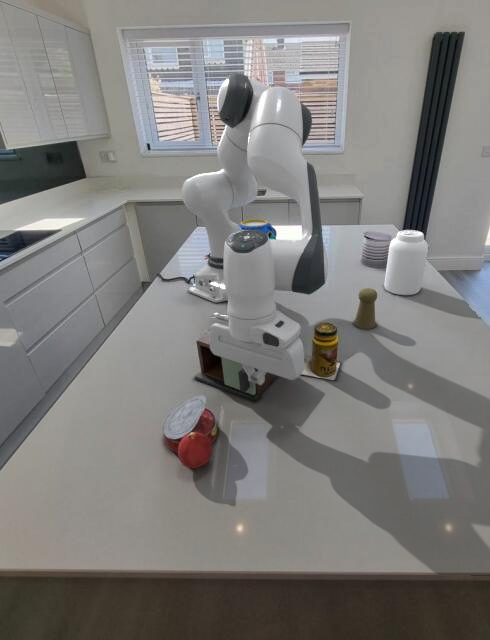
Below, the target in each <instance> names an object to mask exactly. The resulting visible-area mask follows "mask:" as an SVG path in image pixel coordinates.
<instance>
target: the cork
mask: <svg viewBox="0 0 490 640" xmlns="http://www.w3.org/2000/svg"><path fill="white" fill-rule="evenodd" d="M377 299H378V292H377V291H376V289H374V288H371V287H364V288H361V289H360V290H359V292H358V300H359V302H358V303H359V304H358V307H357V311H356V315H355V320H354V326H355V327H356V328H358V329H361V330H370V329H374V328H375V327H376V306H375V303H376V301H377Z"/></svg>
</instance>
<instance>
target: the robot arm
mask: <svg viewBox="0 0 490 640" xmlns="http://www.w3.org/2000/svg"><path fill="white" fill-rule="evenodd" d="M217 94H218V95H217V114H218V117H219V119H220V121H221V122H222V123H223V124H225V128H224V130H223V133H222V135H221V138H220V140H219V143H218V146H217V149H216V156H217V160H218V162H219V165H220V166H221V167H222V169H221V170H220V171H219V170H218V171H216V172H208V173H201V174H200V173H199V174H198V175H194V176H192V177H190V178H188V179H185V180H184V182H183V183H182V186H181V199H182V202H183V204H184V206H185V208H187V210H188V211H189V212H190V213H192V214H194V215H195V216H196V217H197V218H198V219H199V220H200V221H201V222H202V224H203V226H204V228H205V230H206V234H207V238H208V244H209V250H210V252H209V253H208V254H206V255H204V260H207V259H208V260H207V263H206V264H205V265H204V266H203V267H202V268H201V269H199V270H198V271H197V272H196V273H194V274H193V275H192V276H190V277H189V278H187V277H185V276H177V277H173V278H165V277H163V276H162V274H161V273H160V272H158V273H157V274H156V277H159V278H160V279H161V280H163V281H165V282H170V281H171V282H172V281H176V280H182V279H183V280H185V281H186V283H191V281H192V280H193V283H194V284H192V285H191V286H190V287H189V289H188V292H189V293H190V294H193V295H195V296H198V297H200V298H202V299H205V300H208V301H209V302H212V303H216V304H217V303H221V302H227V306H226V311H227V314H224V313H221V312H214V313H212V314H210V316H209V318H208V323H209V331H210V333H209V342H210V350H211V351H212V353H213V354H214V355H217V356H220V357H223V358H226V359H229V360H232V361H235V362H238V363H241V364H242V367H243V369H244V370H245V372H246V373H247V375H248V381H250V382H253V383H256V384H259V385H262V384H263V383H264V381H265V374H266V373H267V372H268V373H271V374H274V375H277V377H281V378H284V379H287V380H290V381H295V380H296V379H297V378H298V377H300V375H302V374H301V373H302V372H303V370H304V364H305V350H304V344H303V341H302V339H301V338H300V337H299V336H300V334H301V332H302V327H301V324H300V323H298V322H297V321H295V320H294V319H292V318H290V317H288V316H287V315H286V314H284V313H282V312H281V311H279V310H278V309H277V304H276V300H275V298H274V293H275V291H280V292H282V291H283V292H292V293H296V294H303V295H312V294H313V293H315V292H317V291H319V289H321V288H322V287H323V286H324V285H325V284H326V281H327V279H328V274H329V260H328V254H327V251H326V248H325V244H324V239H323V223H322V211H321V204H320V203H321V202H320V192H319V187H318V178H317V173H316V170H315V167H314V165H313V164H311V162H309V161H307V160H306V159H305V157H304V155H303V146H304V145H305V144H306V142H307V140H308V138H309V136H310V133H311V130H312V125H313V117H312V111H311V110H310V109H309V108H308V107H307V106H306V105H305V104H304V103H302V102H301V101H300V99H299V96H297V95H296V94H295V92H294V91H292V90H291V89H289V88H287V87H284V86H280V85H279V86H277V85H276V86H270V85H268V84H266V83H263V82H261V81H258V80H255V79H253V78H249V75H246V74H242V73H237V72H233V73H231V74H229V75H227V76H226V78H225V80H224V81H223V82H222V84H221V86H220V88H219V90H218V93H217ZM257 181H258V182H259V183H260V184H261V185H263V186H264V187H266V188H268V189H270V190H272V191H274V192H277V193H280V194H282V195H284V196H287V197H289V198H291V199H292V200H294V201H295V202H296V203H297V204H298V206H299V212H300V213H299V214H300V224H301V225H300V226H301V234H302V235H301V237H299V238H297V239H277V238H276V239H269V237H268V235H267V234H265V233H264V232H262V231H258V230H242V229H241V228H240V226H238V225H239V224H238V223H235V222H234V221H231V219H230V216H229V210H230V211H231V210H233V209H237V208H242V207H245V206H247V205H248V204H250V203H253V202H254V201H255V200H256V199H257V197H258V193H259V185H258V182H257ZM159 275H160V276H159ZM254 368H256V369H258V372H256V371H255V369H254Z"/></svg>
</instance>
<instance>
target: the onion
mask: <svg viewBox="0 0 490 640" xmlns="http://www.w3.org/2000/svg"><path fill="white" fill-rule="evenodd" d="M212 454H213V445H212V443H211V442H210V440H209V438H208V437H207V436H205V435H204V434H203V433H199V432H191V433H189V434H187V435H186V436H185V437H184V438H183V439H182V440H181V442H180V443H179V448H178V453H177V456H178V459H179V461H180V462H181V464H182V465H184V466H185V467H186V468H190V469H194V468H195V469H197V468H199V467H203V466H204V465H205V464H207V463H208V462H209V460H210V459H211V457H212Z"/></svg>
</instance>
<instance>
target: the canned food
mask: <svg viewBox="0 0 490 640" xmlns="http://www.w3.org/2000/svg"><path fill="white" fill-rule="evenodd" d="M206 406H207V397H206V396H205V395H203V394H200V395H199V394H198V395H195V396H192V397H190V398H188V399H186V400H185V401H183V402H181V403H180V404H179V405H178V406H177V407H175V408H174V409H173V410H172V412H171V413H170V414H169V415H168V416H167V418H166V420H165V421H164V423H163V425H162V433H163V436H164V439H165V444H166V446H167V448H168V449H169V450H171V451H173V452H174V453H177V454H178V448H179V443H180V442H181V440H182V439H183V438H184V437H185V436H186V435H187V434H189V433H191V432H199V433H203V434H204V435H205V436H207V437H208V438H209V440H210V442H211V444H213V442H214V441H215V440H216V438H217V434H218V428H217V421H216V415H215V414H214V413H213V412H212V411H211V410H210V409H209V408H207V407H206Z"/></svg>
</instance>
